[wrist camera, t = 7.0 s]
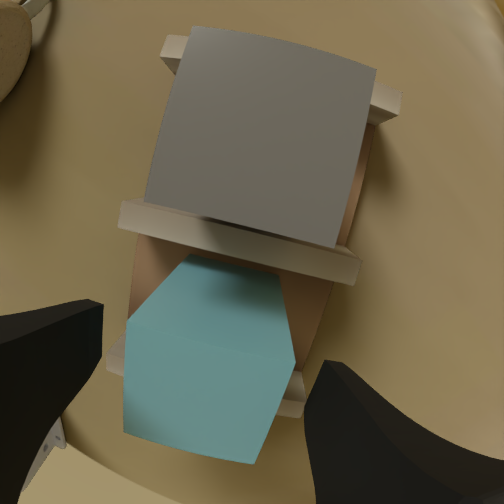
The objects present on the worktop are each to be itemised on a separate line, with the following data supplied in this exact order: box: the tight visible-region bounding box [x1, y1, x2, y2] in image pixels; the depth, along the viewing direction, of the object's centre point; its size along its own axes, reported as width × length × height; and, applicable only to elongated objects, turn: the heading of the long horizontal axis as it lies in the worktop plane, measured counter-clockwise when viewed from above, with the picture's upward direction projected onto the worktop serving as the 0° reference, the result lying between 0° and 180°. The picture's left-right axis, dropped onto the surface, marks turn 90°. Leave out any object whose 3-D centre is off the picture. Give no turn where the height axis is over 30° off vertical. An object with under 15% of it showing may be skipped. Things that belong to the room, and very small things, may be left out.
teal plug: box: [123, 254, 296, 464], centre depth 11 cm, size 4×4×7 cm
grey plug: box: [144, 26, 377, 249], centre depth 9 cm, size 4×4×7 cm
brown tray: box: [107, 35, 403, 418], centre depth 12 cm, size 14×9×3 cm, turn 166°
